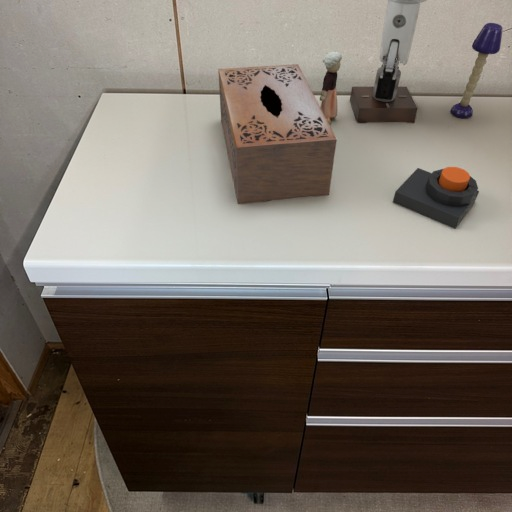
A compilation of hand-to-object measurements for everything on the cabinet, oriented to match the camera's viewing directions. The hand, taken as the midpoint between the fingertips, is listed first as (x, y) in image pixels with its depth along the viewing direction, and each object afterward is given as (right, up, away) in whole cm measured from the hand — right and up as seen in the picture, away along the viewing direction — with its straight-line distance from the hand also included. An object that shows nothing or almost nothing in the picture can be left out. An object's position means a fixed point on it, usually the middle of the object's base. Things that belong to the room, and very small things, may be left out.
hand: (385, 91), depth 91 cm
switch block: (+3, -23, -17) cm, 29 cm away
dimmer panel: (0, -3, +3) cm, 4 cm away
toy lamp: (+16, -4, +2) cm, 16 cm away
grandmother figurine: (-11, -5, +1) cm, 12 cm away
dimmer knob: (0, -1, +1) cm, 1 cm away
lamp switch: (+5, -21, -20) cm, 29 cm away
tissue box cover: (-22, -14, -8) cm, 28 cm away
